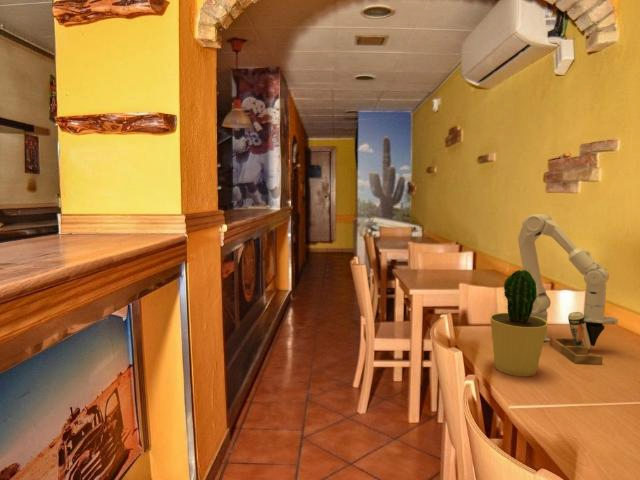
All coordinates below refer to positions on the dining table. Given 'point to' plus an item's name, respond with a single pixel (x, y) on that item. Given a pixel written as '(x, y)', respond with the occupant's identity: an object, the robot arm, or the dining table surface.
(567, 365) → the dining table surface
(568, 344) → the brown compartment tray
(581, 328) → the beer can
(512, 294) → the potted cactus
